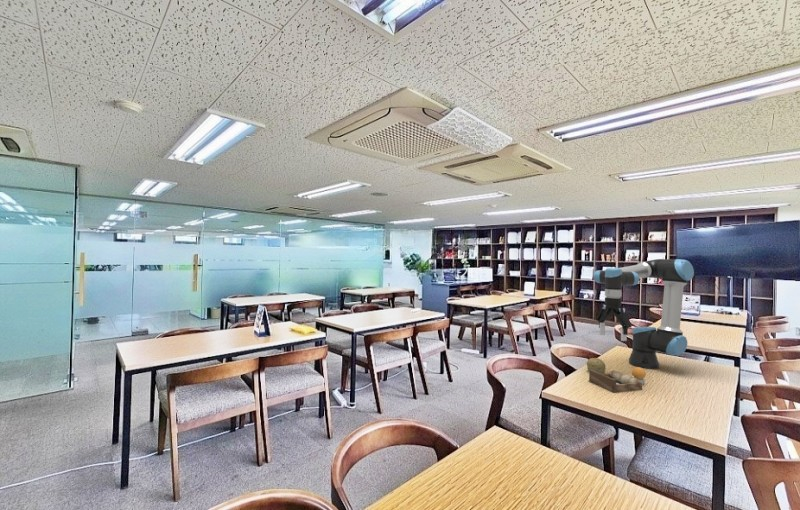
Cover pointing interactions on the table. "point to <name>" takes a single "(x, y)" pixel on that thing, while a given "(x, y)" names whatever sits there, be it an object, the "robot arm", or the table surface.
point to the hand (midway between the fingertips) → (612, 337)
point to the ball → (638, 373)
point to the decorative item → (596, 365)
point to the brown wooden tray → (610, 381)
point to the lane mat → (608, 389)
